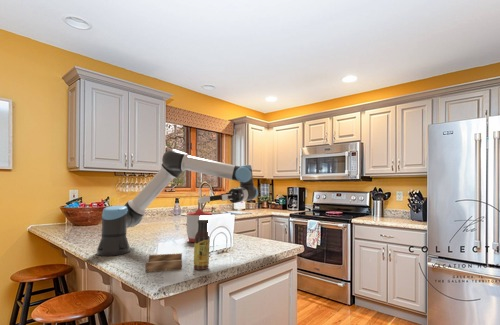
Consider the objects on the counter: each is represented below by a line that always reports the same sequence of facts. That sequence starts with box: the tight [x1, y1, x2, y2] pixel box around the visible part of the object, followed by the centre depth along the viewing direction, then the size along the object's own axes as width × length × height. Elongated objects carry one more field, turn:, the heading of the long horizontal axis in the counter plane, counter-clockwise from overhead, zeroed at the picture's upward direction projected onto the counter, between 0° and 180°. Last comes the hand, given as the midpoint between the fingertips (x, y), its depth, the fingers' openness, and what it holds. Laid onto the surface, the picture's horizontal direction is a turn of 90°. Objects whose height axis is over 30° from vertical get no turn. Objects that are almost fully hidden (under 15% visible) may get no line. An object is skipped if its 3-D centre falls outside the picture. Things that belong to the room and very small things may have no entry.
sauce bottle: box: [193, 220, 210, 271], centre depth 119 cm, size 6×6×20 cm
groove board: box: [145, 252, 183, 273], centre depth 122 cm, size 14×13×3 cm
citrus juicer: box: [186, 208, 213, 243], centre depth 176 cm, size 16×17×20 cm
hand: (211, 199), depth 131 cm, fingers open, 13 cm apart
